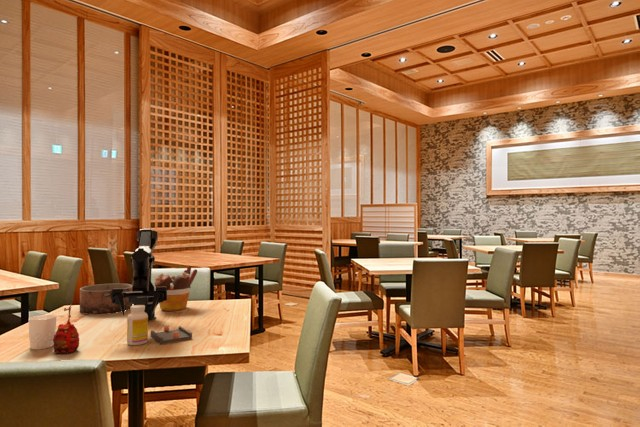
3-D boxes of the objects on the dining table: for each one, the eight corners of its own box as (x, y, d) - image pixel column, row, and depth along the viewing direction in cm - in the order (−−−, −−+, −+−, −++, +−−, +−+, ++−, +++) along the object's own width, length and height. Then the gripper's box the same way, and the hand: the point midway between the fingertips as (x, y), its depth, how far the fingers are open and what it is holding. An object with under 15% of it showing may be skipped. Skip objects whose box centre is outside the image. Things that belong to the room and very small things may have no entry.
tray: (150, 336, 153) (150, 327, 153) (180, 331, 160) (180, 323, 160) (160, 344, 144) (160, 335, 144) (191, 339, 150) (192, 330, 150)
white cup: (36, 343, 144) (37, 314, 144) (60, 343, 145) (61, 314, 145) (22, 350, 136) (23, 320, 137) (48, 350, 137) (48, 319, 137)
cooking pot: (67, 309, 198) (67, 286, 199) (113, 302, 217) (113, 281, 217) (98, 318, 181) (98, 293, 181) (146, 309, 199) (146, 287, 199)
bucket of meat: (165, 314, 188) (166, 270, 188) (145, 309, 198) (146, 267, 198) (202, 307, 204) (202, 266, 204) (182, 303, 214) (182, 264, 214)
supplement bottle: (152, 341, 147) (152, 305, 147) (136, 346, 141) (137, 308, 141) (138, 339, 150) (138, 303, 150) (122, 344, 144) (123, 307, 144)
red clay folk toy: (47, 354, 132) (48, 307, 133) (61, 348, 140) (62, 303, 140) (71, 354, 133) (72, 307, 133) (84, 348, 140) (84, 303, 140)
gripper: (167, 290, 165) (166, 325, 155) (115, 292, 159) (110, 328, 149) (167, 273, 158) (166, 307, 147) (112, 274, 152) (107, 311, 141)
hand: (137, 314), depth 146 cm, fingers open, 9 cm apart
